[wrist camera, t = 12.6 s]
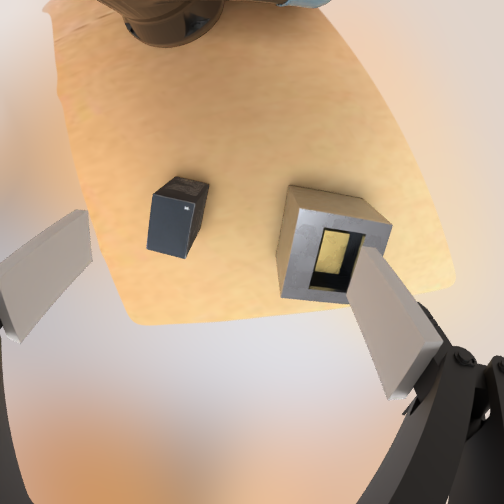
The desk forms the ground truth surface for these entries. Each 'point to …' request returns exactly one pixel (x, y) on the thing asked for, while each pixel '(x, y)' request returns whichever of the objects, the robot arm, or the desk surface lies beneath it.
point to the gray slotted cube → (309, 236)
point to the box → (176, 216)
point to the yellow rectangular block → (331, 250)
